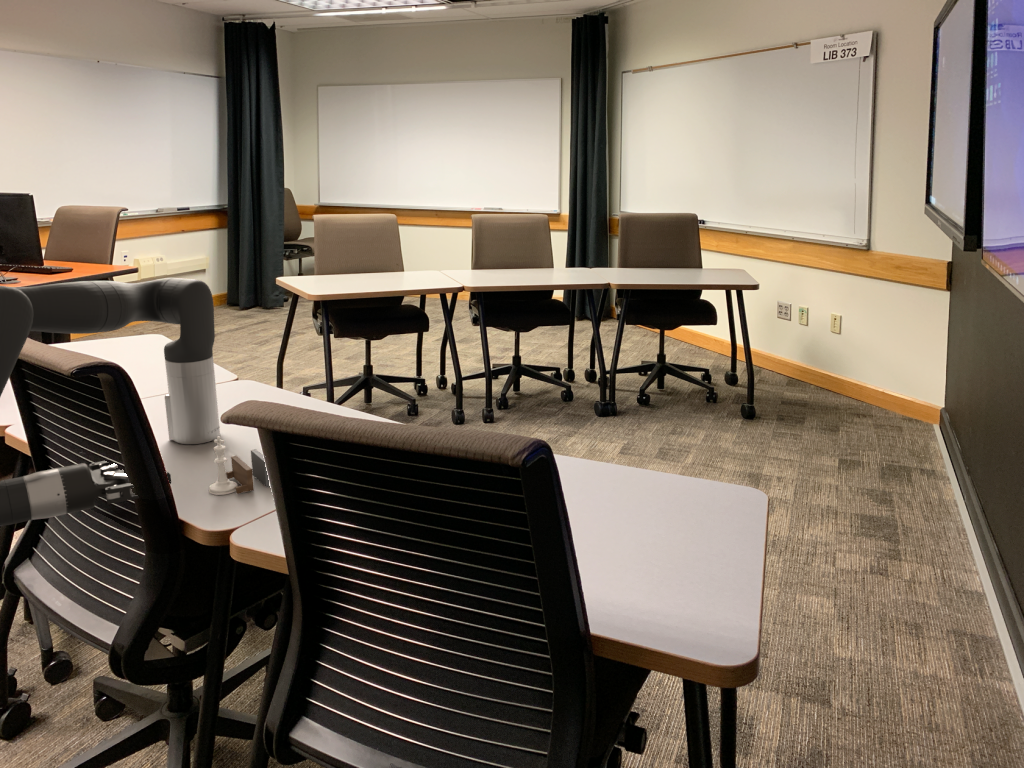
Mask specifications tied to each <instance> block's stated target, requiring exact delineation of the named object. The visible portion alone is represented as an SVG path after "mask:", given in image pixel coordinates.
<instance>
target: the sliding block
mask: <svg viewBox="0 0 1024 768" xmlns="http://www.w3.org/2000/svg"><path fill="white" fill-rule="evenodd" d="M230 460H231V469H232V470H230V471H226V475H227V479H229V480H230V479H234V480H235V481H237V483H239V484H240V485H239V486H238V485H237V487H236V491H235V494H237V495H238V494H243V493H244V494H245V493H247V492H251V491H254V490H255V488H254V487H255V486H254V476H253V472H252V467H250V466H249V465H248V464H247V463H245V461H243V460H242V459H241V458H240V457H239V456H238V455H234V456H232V455H231V457H230Z"/></svg>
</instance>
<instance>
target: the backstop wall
mask: <svg viewBox="0 0 1024 768" xmlns="http://www.w3.org/2000/svg"><path fill="white" fill-rule="evenodd" d="M263 455H264V454H263V453H262V452H261V451H259V450H258V449H256V448H255V449H251V450H250V457H251V458H250V459H251V469H252V473H253V478H255V479H256V480H257V481H258V482H260V483H261V484H262V485H263V486H264V487H265V488H270V486H269V480H268V475H267V471H266V467H265V462H264V458H263Z"/></svg>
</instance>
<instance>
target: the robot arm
mask: <svg viewBox="0 0 1024 768" xmlns="http://www.w3.org/2000/svg"><path fill="white" fill-rule="evenodd" d="M214 305H215V304H214V298H213V294H212V290H211V289H210V287H209V285H208V284H207V283H206V282H204V281H202V280H200V279H194V278H193V279H192V278H181V277H165V278H159V279H153V280H148V281H141V282H135V283H131V282H130V283H129V282H124V281H117V280H116V281H115V280H81V281H80V280H79V281H71V282H69V281H68V282H62V283H60V282H59V283H52V284H51V283H50V284H44V285H36V286H28V287H27V286H25V287H24V286H23V287H22V286H21V287H15V286H14V287H13V286H5V285H0V398H1V396H2V394H3V393H4V391H5V387H6V386H7V384H8V381H9V379H10V376H11V374H12V372H13V370H14V368H15V366H16V363H17V361H18V359H19V357H20V354H21V352H22V351H23V347H24V346H25V344H26V341H27V339H28V337H29V334H30V332H44V333H53V334H70V335H71V334H72V335H73V334H75V335H76V334H77V335H78V334H79V335H81V334H86V335H87V334H98V333H107V332H114V331H117V330H120V329H123V328H125V327H126V326H128V325H129V324H131V323H134V322H157V323H165V324H170V325H171V324H172V325H179V327H180V329H179V330H180V332H179V338H178V339H175V340H172V341H169V342H167V343H166V344H165V345H164V346H163V347H164V348H163V353H164V354H163V355H164V363H165V370H166V371H165V372H166V380H167V391H168V393H167V394H165V395H164V406H165V414H166V423H167V424H166V425H167V431H168V439H169V440H170V441H174V442H175V443H177V444H182V445H198V444H204V443H209V442H211V441H214V440H215V439H216V440H217V437H218V436H220V437H221V429H220V427H221V426H220V419H219V418H220V417H219V405H218V396H217V388H216V387H217V385H216V374H215V363H214V353H213V350H214V349H213V348H214V343H215V339H216V338H215V337H216V334H215V331H216V329H215V309H214V307H215V306H214ZM116 468H118V465H117V464H115V463H113V464H111V465H110V464H109V462H107V461H105V460H102V461H97V462H96V461H95V462H92V463H90V464H89V465H88V464H86V463H85V462H81V463H78V464H77V463H76V464H72V465H67V466H62V467H61V466H60V467H56V468H51V469H50V468H49V469H47V470H40V471H36V472H33V473H31V474H27V475H23V476H19V477H14V478H8V479H2V480H0V527H4V526H11V525H14V524H19V523H23V522H29V521H33V520H34V521H35V520H41V519H49V518H53V517H58V516H63V515H68V514H72V513H76V512H81V511H86V510H89V509H93V508H95V506H96V503H97V502H96V499H98V498H102V497H105V499H106V504H108V505H111V504H115V503H121V502H125V501H133V500H136V499H140V498H139V496H138V495H135V493H133V492H132V489H131V488H134V487H135V486H134V485H133V484H131V483H129V479H128V476H127V474H126V473H124V470H123V469H122V470H120V469H116ZM165 472H166V473H167V477H168V480H169V483H170V485H171V484H172V476H171V475H172V474H171V473H170V472H169V471H165Z"/></svg>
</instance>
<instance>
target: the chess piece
mask: <svg viewBox="0 0 1024 768" xmlns="http://www.w3.org/2000/svg"><path fill="white" fill-rule="evenodd" d="M213 443H215V444H217V445H215V446H214V447H213V451H214V452H215V455H216V458H214V461H213V462H214V463H216V464H217V465H218V466H217V480H215V482H213V483H211V484H210V485H209V486H208V489H209V490H208V492H209V493H210V494H211V495H214V496H215V495H216V496H224V495H229V494H232V493H236V487H237V486H238V484H237V483H238V482H235V481H234V480H230V479H227V475H226V472H227V470H226V467H225V463H226V462H227V461H228V459H227V458H226V457H225V452H226V449H227V448H226V446H225V445H223V444H224V443H225V440H224V439H221V435H220V436H218V437H217V439H215V440H213Z"/></svg>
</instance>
